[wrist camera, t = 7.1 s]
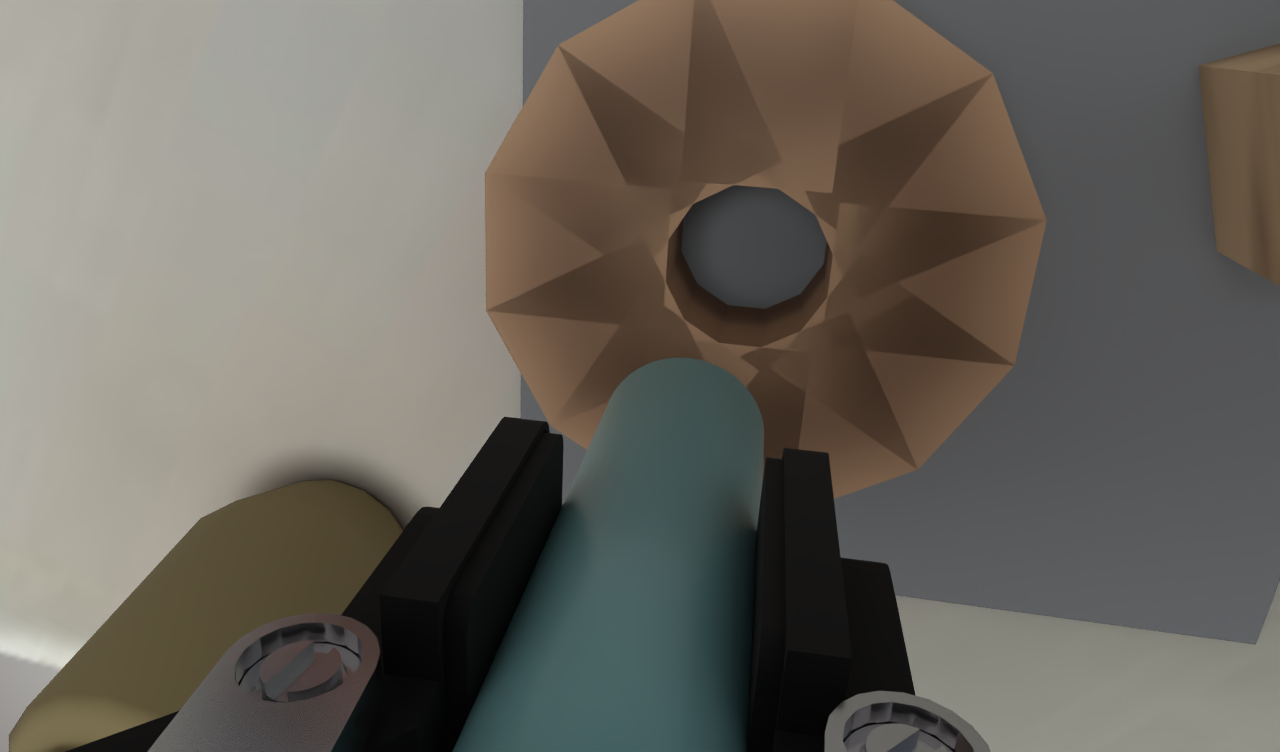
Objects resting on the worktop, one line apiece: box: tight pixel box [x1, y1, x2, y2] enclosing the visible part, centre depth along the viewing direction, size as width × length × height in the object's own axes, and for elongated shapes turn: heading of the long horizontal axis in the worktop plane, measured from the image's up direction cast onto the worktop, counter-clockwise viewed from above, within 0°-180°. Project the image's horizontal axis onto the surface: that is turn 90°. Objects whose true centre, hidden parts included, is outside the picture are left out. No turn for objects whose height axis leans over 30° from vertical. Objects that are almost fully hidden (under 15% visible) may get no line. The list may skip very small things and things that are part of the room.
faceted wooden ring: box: [485, 0, 1047, 499], centre depth 25 cm, size 14×14×4 cm
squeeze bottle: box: [9, 480, 403, 752], centre depth 26 cm, size 8×8×18 cm
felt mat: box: [521, 0, 1280, 644], centre depth 27 cm, size 24×19×1 cm
